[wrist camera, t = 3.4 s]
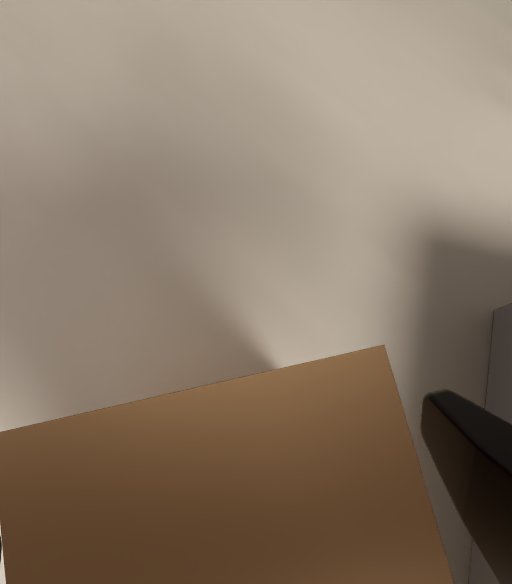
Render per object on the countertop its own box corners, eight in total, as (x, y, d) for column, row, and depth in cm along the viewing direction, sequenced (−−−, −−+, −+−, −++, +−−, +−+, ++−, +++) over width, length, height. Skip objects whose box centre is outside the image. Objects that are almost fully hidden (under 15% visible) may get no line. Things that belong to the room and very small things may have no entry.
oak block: (332, 558, 14) (515, 794, 5) (160, 606, 13) (42, 962, 5) (291, 385, 15) (384, 345, 6) (130, 422, 14) (-9, 433, 6)
